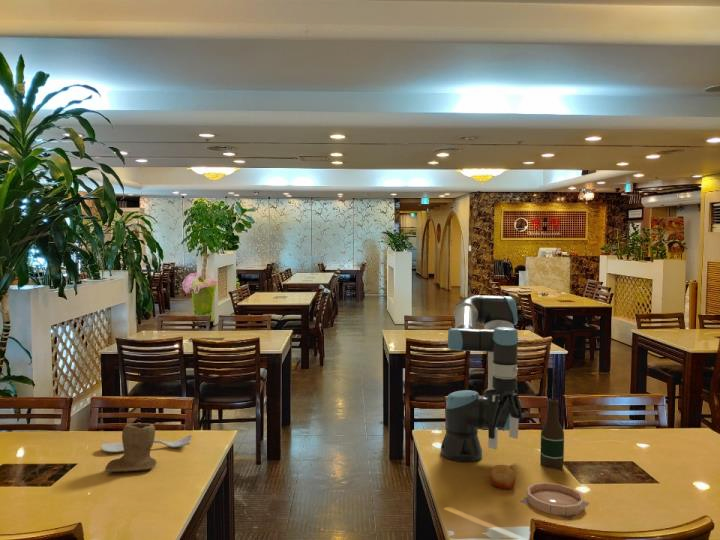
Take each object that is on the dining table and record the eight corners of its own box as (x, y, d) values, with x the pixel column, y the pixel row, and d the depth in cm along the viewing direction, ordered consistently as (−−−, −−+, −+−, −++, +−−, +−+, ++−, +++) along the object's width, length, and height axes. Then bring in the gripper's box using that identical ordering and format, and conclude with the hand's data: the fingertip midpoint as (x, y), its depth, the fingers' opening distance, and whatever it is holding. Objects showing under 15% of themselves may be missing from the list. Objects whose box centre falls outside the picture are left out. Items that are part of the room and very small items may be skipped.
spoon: (189, 450, 195) (190, 441, 195) (97, 456, 188) (97, 447, 188) (192, 442, 204) (192, 433, 204) (104, 447, 197) (104, 438, 197)
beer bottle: (565, 472, 179) (567, 403, 178) (541, 470, 180) (543, 401, 180) (561, 463, 187) (562, 397, 186) (538, 461, 188) (540, 396, 188)
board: (520, 504, 155) (520, 501, 155) (540, 490, 165) (541, 487, 165) (570, 523, 144) (570, 519, 144) (589, 506, 155) (589, 503, 155)
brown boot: (159, 459, 186) (159, 418, 185) (153, 473, 174) (153, 429, 174) (113, 462, 182) (113, 420, 182) (104, 476, 171) (104, 431, 170)
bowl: (517, 502, 154) (518, 493, 154) (541, 486, 166) (541, 478, 166) (570, 521, 144) (570, 512, 144) (591, 502, 155) (591, 494, 155)
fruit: (516, 478, 170) (515, 462, 166) (514, 499, 164) (514, 483, 160) (490, 474, 173) (490, 458, 169) (488, 495, 167) (487, 479, 163)
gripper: (495, 385, 154) (494, 456, 154) (533, 372, 172) (532, 436, 172) (473, 380, 159) (472, 449, 159) (512, 368, 177) (511, 430, 177)
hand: (503, 442), depth 166 cm, fingers open, 13 cm apart
